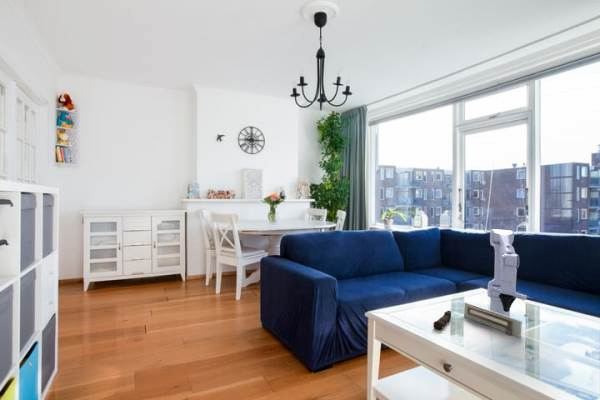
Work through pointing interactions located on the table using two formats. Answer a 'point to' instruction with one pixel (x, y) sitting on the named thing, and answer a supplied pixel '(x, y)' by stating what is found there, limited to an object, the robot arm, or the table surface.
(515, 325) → the wall panel
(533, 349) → the table surface
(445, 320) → the dark brown bar
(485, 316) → the grooved wooden rail
